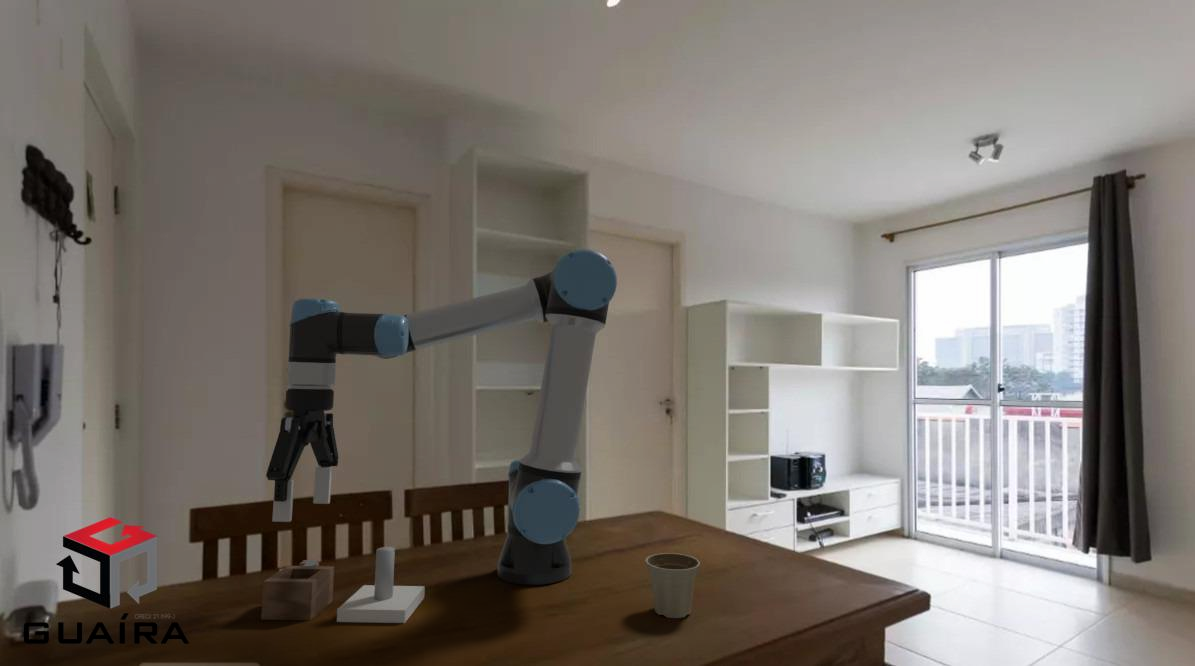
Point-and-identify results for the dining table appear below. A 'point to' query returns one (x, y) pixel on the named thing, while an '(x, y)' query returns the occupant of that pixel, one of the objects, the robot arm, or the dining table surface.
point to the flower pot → (672, 583)
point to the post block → (382, 596)
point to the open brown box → (297, 592)
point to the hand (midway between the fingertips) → (303, 511)
